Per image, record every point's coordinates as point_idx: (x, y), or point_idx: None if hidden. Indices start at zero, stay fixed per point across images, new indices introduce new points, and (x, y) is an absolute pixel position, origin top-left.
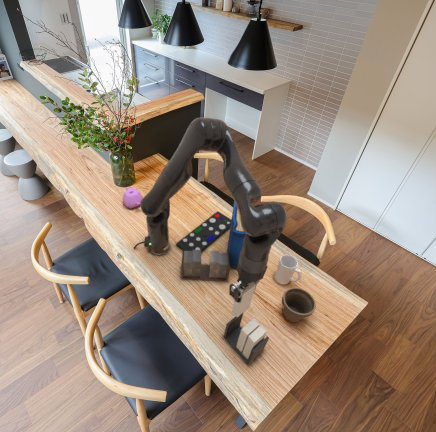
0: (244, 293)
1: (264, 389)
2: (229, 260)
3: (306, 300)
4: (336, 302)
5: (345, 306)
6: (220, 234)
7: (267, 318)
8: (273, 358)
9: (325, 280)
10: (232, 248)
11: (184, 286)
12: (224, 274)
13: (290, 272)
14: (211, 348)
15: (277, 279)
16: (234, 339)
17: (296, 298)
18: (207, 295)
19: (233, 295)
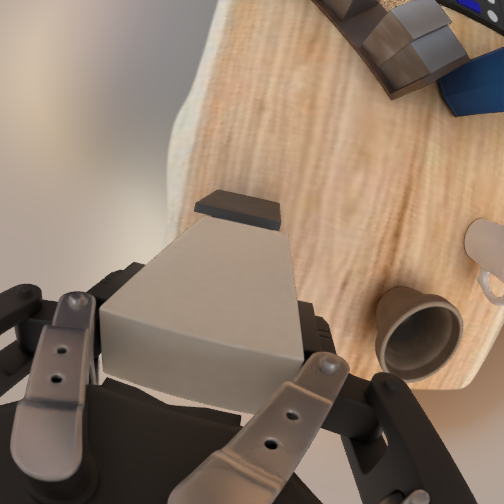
0: (122, 378)
1: None
2: (451, 75)
3: (436, 343)
4: (459, 361)
5: (456, 375)
6: (496, 26)
7: (351, 262)
8: None
9: (501, 322)
10: (492, 64)
11: (282, 4)
12: (400, 81)
13: (500, 278)
14: (170, 181)
15: (472, 235)
16: (229, 220)
17: (436, 315)
18: (305, 71)
19: (16, 331)
